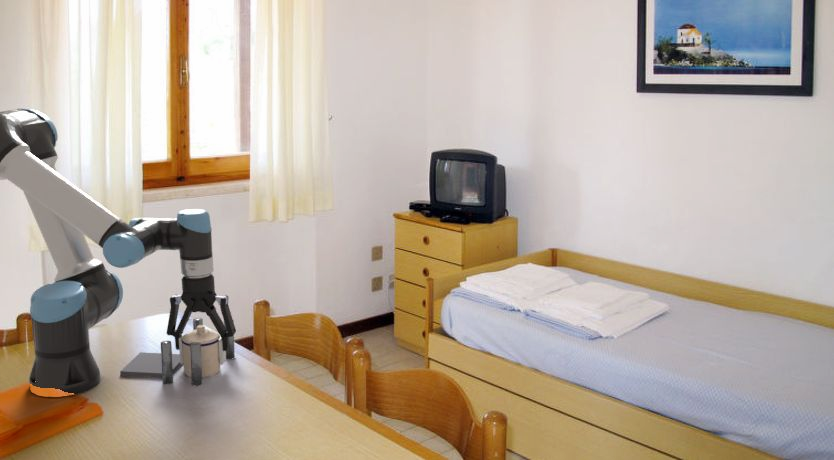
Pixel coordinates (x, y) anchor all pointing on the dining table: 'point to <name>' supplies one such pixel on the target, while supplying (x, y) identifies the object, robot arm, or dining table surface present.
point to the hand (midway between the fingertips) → (203, 362)
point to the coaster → (148, 365)
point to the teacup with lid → (202, 350)
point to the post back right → (230, 347)
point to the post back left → (197, 322)
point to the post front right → (196, 363)
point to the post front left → (166, 362)
